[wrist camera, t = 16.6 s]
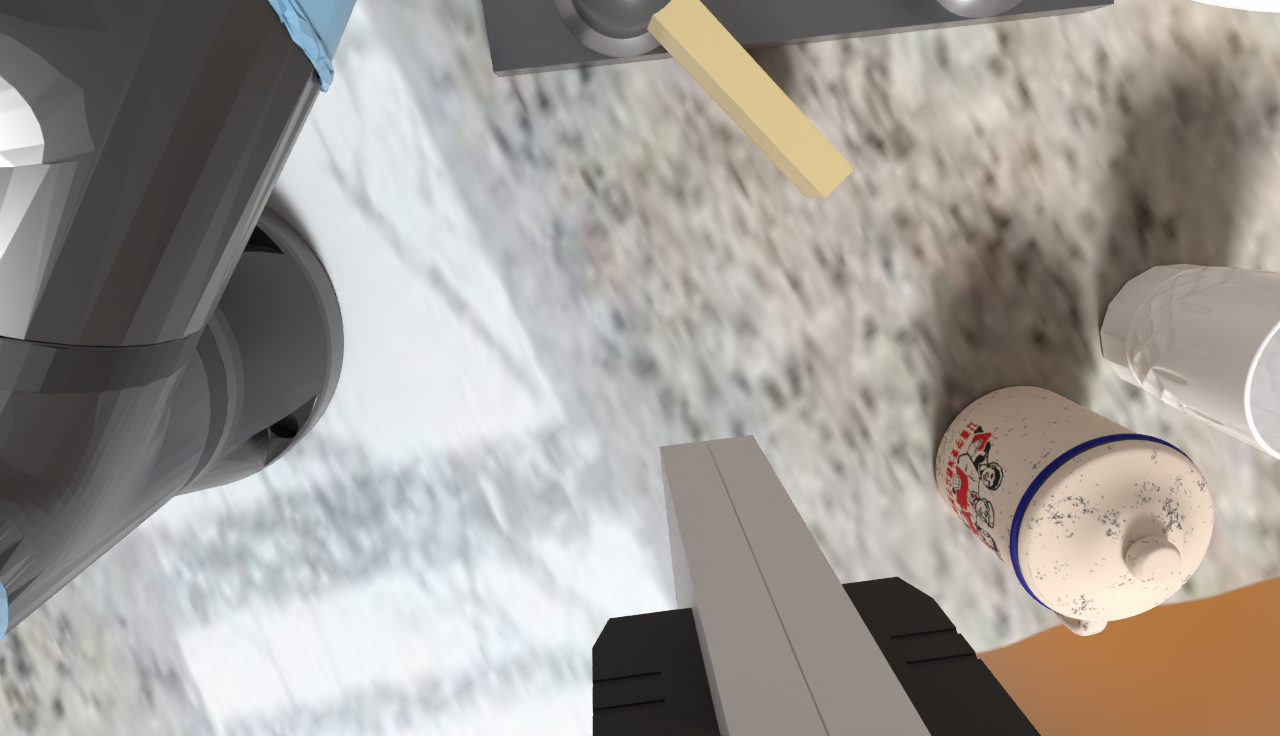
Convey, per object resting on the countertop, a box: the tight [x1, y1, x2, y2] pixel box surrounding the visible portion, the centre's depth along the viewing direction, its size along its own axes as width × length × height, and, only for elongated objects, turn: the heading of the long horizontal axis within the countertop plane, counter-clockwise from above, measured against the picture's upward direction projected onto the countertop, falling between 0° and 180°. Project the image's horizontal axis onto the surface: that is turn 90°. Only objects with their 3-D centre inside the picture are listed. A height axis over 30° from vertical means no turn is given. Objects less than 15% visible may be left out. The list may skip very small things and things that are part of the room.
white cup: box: [1100, 264, 1280, 459], centre depth 35 cm, size 8×8×10 cm
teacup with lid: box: [936, 386, 1214, 636], centre depth 36 cm, size 12×9×12 cm
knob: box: [571, 0, 854, 198], centre depth 31 cm, size 14×5×5 cm, turn 46°
